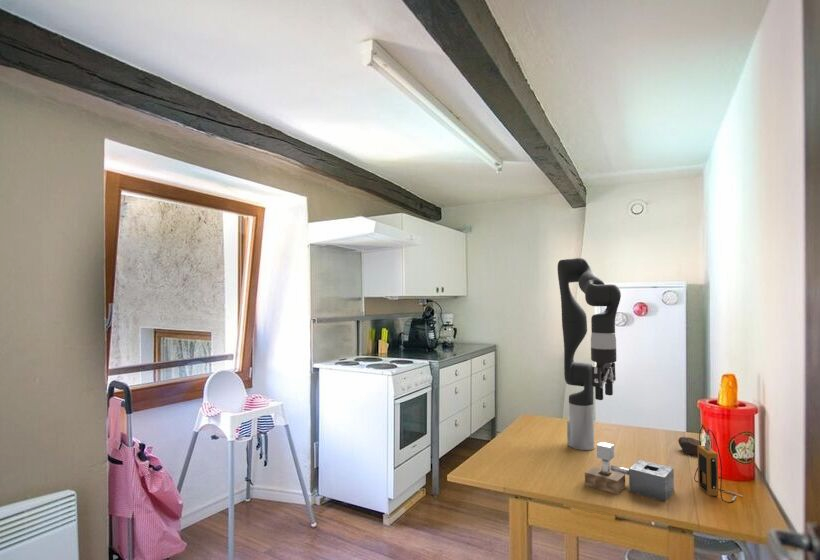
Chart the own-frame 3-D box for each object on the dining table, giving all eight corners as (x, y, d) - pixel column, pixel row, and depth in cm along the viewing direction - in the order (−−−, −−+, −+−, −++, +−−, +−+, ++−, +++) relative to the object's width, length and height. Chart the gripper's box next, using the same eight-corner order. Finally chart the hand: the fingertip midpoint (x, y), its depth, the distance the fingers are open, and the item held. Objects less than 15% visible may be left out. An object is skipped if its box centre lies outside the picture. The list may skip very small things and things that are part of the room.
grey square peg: (610, 486, 142) (609, 447, 142) (597, 482, 144) (596, 444, 145) (614, 482, 145) (613, 444, 145) (601, 478, 147) (601, 441, 148)
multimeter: (752, 504, 131) (751, 435, 132) (714, 502, 133) (713, 433, 134) (726, 483, 146) (725, 421, 146) (692, 481, 148) (691, 419, 148)
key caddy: (585, 485, 145) (584, 472, 145) (593, 478, 150) (593, 466, 151) (617, 494, 139) (617, 481, 139) (625, 487, 144) (625, 474, 144)
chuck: (606, 485, 145) (605, 462, 145) (616, 475, 153) (616, 454, 153) (665, 501, 134) (665, 477, 134) (673, 490, 141) (673, 467, 141)
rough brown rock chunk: (710, 441, 171) (680, 431, 177) (707, 453, 166) (676, 443, 172) (708, 452, 174) (678, 443, 179) (705, 464, 169) (675, 454, 175)
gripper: (607, 349, 138) (608, 403, 138) (623, 345, 148) (624, 395, 148) (582, 347, 143) (583, 399, 143) (599, 343, 153) (600, 391, 153)
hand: (604, 397), depth 145 cm, fingers open, 8 cm apart
